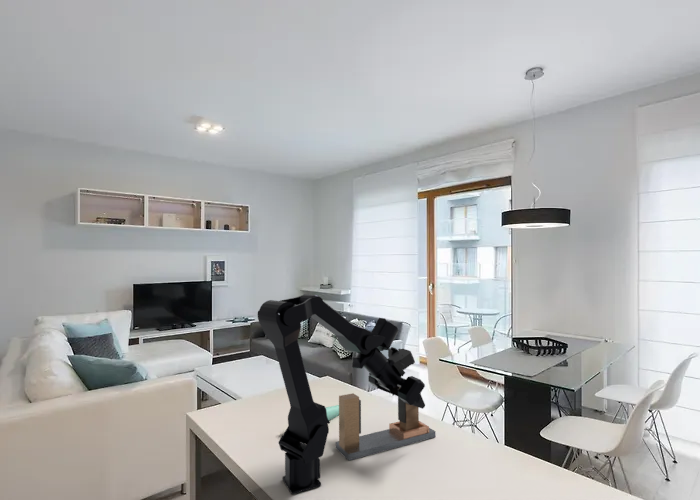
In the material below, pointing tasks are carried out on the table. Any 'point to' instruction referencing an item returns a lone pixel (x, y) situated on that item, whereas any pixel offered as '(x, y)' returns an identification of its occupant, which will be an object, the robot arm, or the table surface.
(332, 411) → the mint green cone
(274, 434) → the table surface
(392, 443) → the rail
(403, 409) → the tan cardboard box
